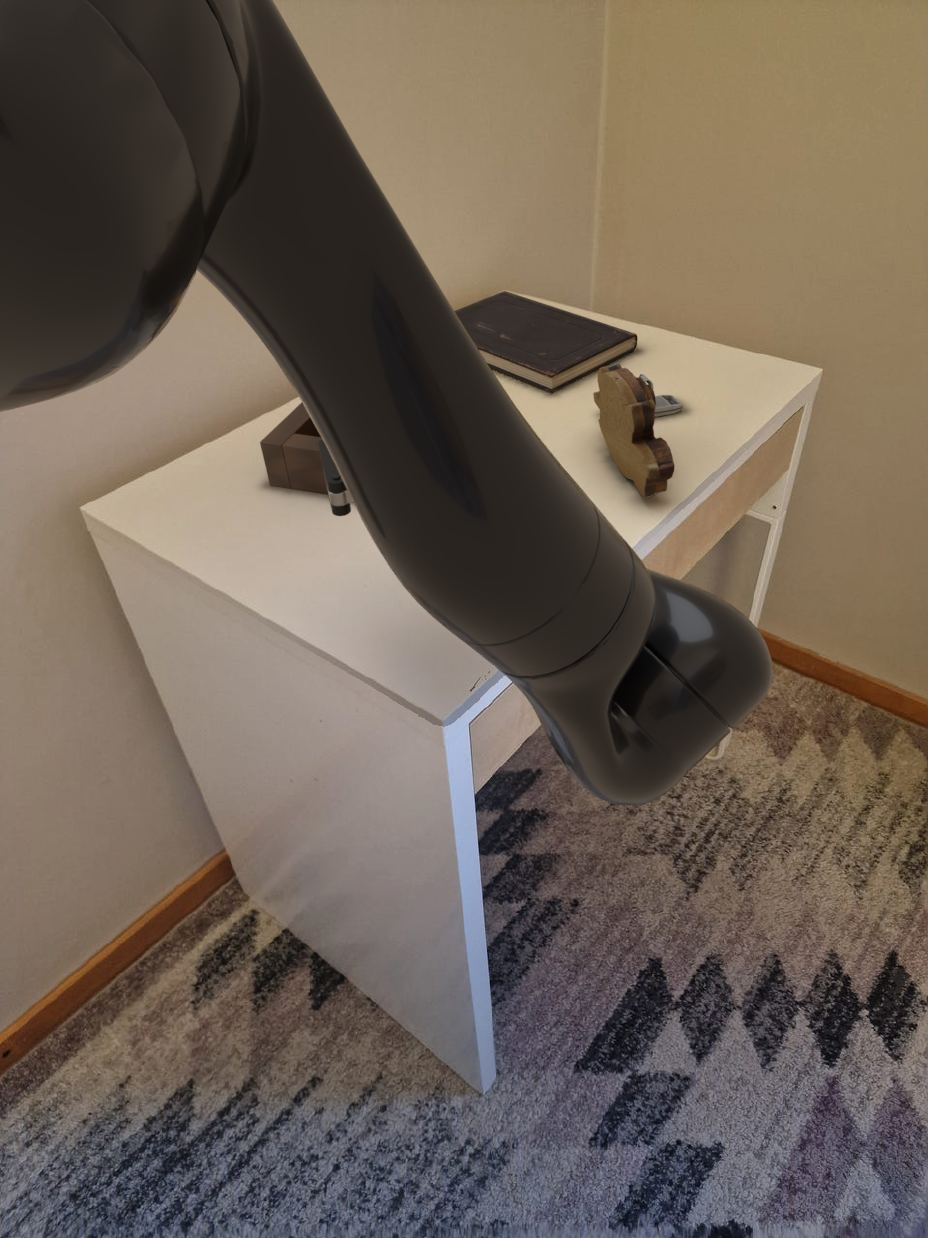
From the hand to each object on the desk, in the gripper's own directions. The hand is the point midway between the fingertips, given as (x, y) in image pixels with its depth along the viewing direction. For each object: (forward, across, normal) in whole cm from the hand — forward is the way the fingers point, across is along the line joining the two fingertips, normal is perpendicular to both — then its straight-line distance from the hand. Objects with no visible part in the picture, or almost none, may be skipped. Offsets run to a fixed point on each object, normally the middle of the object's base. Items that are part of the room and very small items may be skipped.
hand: (369, 410), depth 62 cm
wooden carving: (+6, -29, +17) cm, 34 cm away
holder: (+23, -4, +17) cm, 29 cm away
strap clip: (+15, -37, +17) cm, 43 cm away
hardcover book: (+37, -36, +17) cm, 55 cm away
